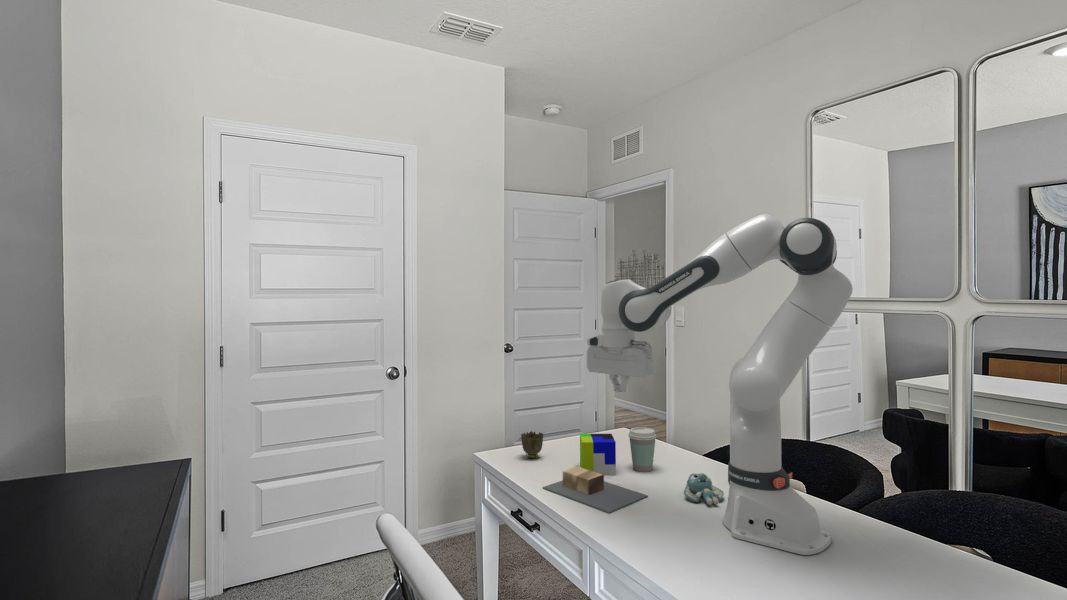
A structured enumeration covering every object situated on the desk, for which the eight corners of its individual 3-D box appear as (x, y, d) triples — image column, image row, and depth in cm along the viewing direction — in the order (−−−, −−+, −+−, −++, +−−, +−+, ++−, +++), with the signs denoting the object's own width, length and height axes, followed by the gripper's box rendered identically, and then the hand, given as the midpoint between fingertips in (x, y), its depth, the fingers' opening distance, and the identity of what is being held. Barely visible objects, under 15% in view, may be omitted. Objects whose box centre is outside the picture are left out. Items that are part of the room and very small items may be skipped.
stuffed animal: (694, 489, 136) (676, 465, 147) (692, 514, 137) (674, 489, 149) (735, 486, 137) (714, 463, 149) (732, 512, 139) (712, 487, 150)
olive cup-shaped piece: (547, 456, 181) (547, 432, 181) (536, 462, 175) (535, 437, 175) (529, 453, 185) (528, 430, 185) (517, 459, 179) (516, 434, 179)
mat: (647, 496, 145) (648, 495, 145) (609, 513, 134) (609, 512, 134) (581, 475, 162) (581, 473, 162) (542, 488, 152) (542, 487, 152)
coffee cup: (655, 464, 172) (654, 427, 172) (658, 473, 163) (658, 433, 163) (627, 464, 173) (627, 426, 172) (629, 473, 164) (629, 433, 164)
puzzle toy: (615, 475, 162) (615, 442, 162) (582, 475, 162) (582, 442, 162) (611, 465, 172) (611, 433, 172) (580, 465, 172) (579, 433, 172)
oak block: (603, 474, 149) (577, 466, 157) (589, 480, 145) (562, 471, 153) (603, 489, 150) (577, 480, 157) (589, 494, 145) (562, 485, 153)
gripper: (658, 340, 140) (659, 394, 140) (597, 337, 155) (598, 386, 155) (643, 342, 135) (645, 397, 135) (582, 339, 150) (583, 389, 150)
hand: (619, 391), depth 145 cm, fingers closed
